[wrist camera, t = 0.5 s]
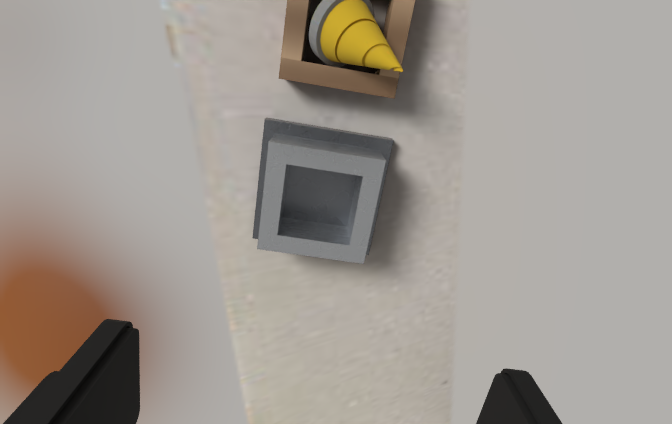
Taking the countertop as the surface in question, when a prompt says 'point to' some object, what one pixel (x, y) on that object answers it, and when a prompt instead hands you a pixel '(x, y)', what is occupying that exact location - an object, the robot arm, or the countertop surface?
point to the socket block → (339, 77)
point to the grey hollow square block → (319, 190)
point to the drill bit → (350, 35)
